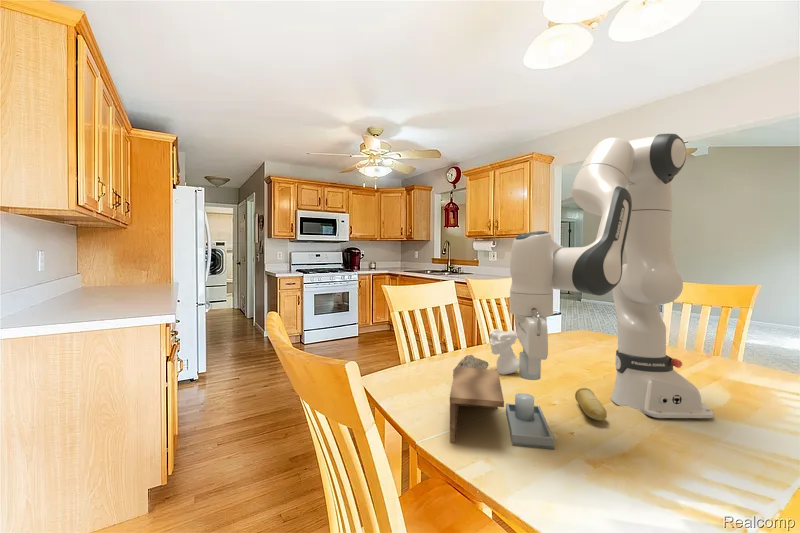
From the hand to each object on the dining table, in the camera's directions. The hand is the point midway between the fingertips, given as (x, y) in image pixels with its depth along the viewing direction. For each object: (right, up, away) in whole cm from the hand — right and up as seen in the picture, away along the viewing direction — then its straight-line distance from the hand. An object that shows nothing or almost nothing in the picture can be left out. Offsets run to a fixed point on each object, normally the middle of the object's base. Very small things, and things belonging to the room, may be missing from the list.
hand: (530, 369), depth 79 cm
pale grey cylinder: (+2, -14, +10) cm, 17 cm away
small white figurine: (+7, -15, +45) cm, 48 cm away
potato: (+20, -15, +12) cm, 28 cm away
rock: (-7, -15, +31) cm, 35 cm away
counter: (-10, -15, +7) cm, 19 cm away
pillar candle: (0, -2, 0) cm, 2 cm away
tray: (+1, -15, +5) cm, 16 cm away
